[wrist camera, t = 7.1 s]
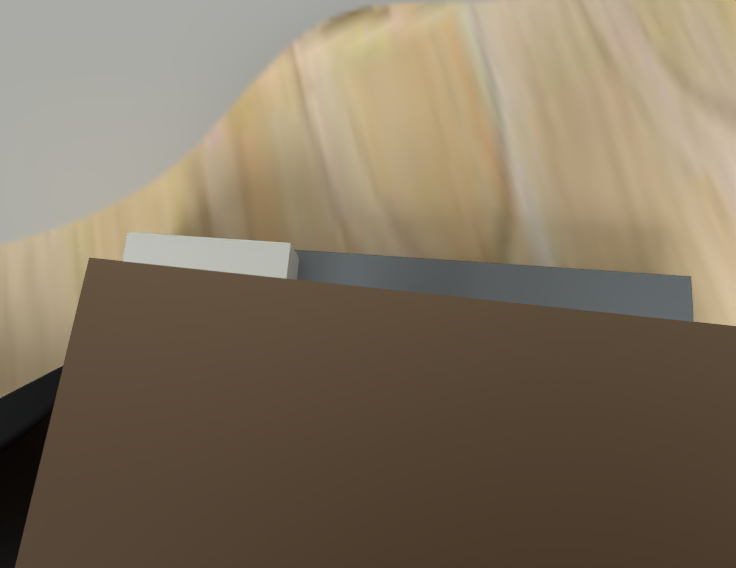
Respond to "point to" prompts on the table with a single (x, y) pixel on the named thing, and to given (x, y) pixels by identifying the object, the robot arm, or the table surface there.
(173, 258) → the tile on board
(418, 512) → the walnut handle
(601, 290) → the slate board
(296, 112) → the table surface
